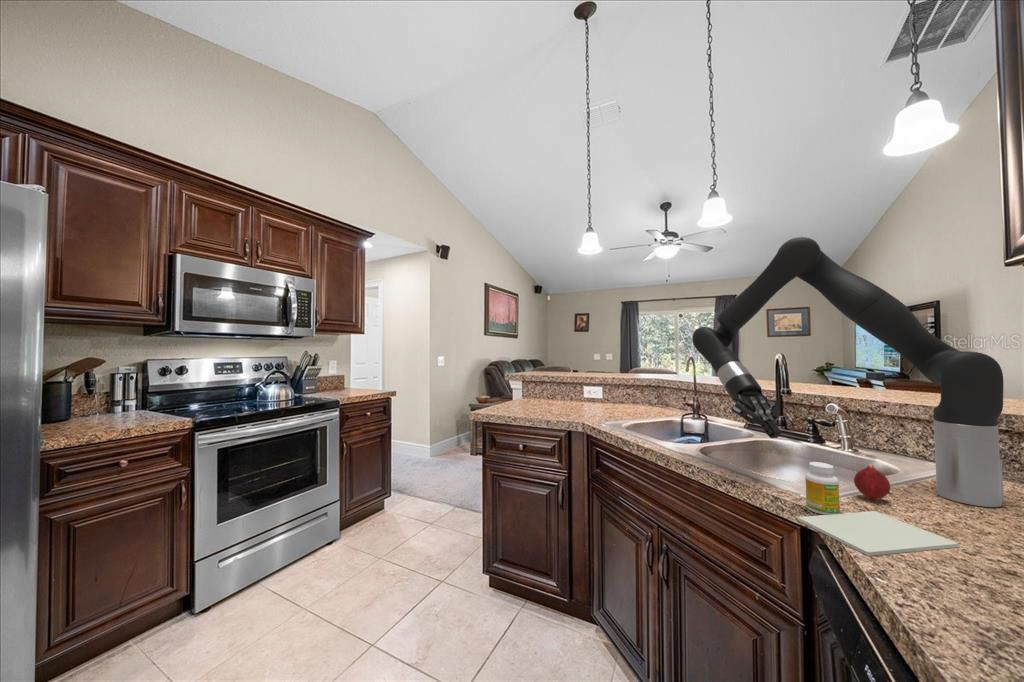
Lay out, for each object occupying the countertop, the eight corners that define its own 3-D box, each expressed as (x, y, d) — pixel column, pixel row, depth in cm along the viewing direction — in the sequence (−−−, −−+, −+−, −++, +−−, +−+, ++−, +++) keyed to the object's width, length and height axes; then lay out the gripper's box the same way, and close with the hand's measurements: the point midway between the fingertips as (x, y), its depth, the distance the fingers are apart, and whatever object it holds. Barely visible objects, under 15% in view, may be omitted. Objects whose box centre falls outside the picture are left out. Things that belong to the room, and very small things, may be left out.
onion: (898, 506, 80) (896, 469, 80) (867, 504, 81) (865, 467, 81) (877, 496, 85) (876, 461, 85) (848, 494, 86) (847, 460, 87)
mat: (875, 513, 76) (875, 511, 76) (958, 547, 63) (958, 543, 63) (797, 520, 74) (797, 517, 74) (868, 555, 61) (868, 552, 61)
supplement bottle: (827, 518, 75) (825, 469, 75) (800, 507, 80) (798, 462, 80) (846, 514, 76) (844, 467, 76) (818, 504, 81) (816, 459, 82)
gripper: (722, 373, 98) (759, 428, 86) (767, 372, 100) (810, 426, 88) (709, 390, 104) (743, 445, 91) (752, 389, 105) (791, 443, 93)
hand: (776, 436), depth 89 cm, fingers closed
